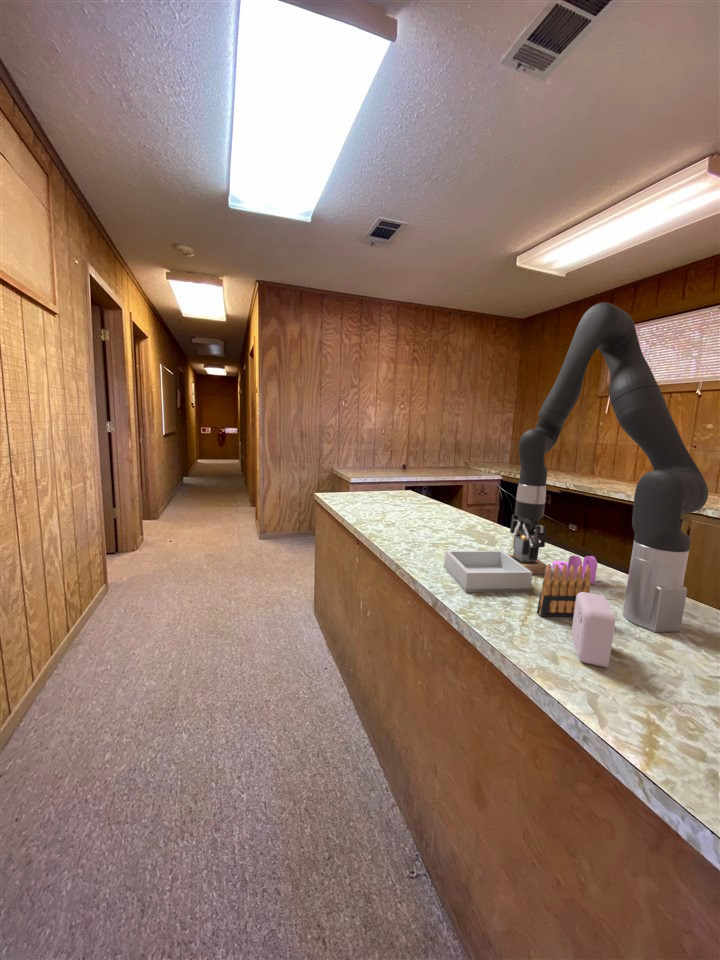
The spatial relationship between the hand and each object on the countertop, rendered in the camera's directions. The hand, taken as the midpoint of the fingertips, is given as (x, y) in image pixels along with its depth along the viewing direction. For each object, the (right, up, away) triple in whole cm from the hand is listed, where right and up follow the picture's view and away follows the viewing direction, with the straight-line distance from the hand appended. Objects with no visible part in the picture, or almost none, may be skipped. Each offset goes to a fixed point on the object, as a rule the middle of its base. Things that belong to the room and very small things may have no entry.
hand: (524, 554), depth 110 cm
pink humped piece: (+12, -5, -2) cm, 13 cm away
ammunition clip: (-3, -9, -26) cm, 28 cm away
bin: (-14, -5, -8) cm, 17 cm away
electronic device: (-6, -11, -40) cm, 42 cm away
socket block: (0, -4, +1) cm, 4 cm away
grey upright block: (0, -4, +1) cm, 4 cm away
